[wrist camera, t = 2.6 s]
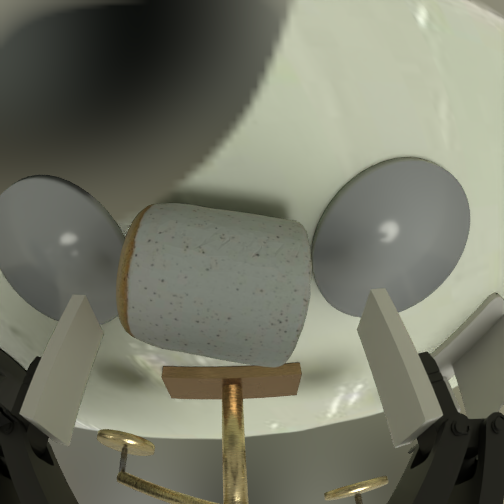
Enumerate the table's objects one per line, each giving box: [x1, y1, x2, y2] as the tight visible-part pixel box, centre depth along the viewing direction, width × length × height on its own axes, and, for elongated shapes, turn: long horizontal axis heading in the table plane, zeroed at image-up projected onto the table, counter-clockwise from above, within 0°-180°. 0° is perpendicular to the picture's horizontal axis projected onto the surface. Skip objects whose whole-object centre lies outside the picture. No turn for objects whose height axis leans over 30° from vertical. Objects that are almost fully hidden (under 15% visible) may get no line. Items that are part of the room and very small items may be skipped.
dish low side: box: [0, 175, 125, 325], centre depth 16 cm, size 12×12×1 cm
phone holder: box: [430, 293, 504, 419], centre depth 20 cm, size 17×10×18 cm, turn 151°
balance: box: [97, 363, 388, 504], centre depth 18 cm, size 23×5×16 cm, turn 90°
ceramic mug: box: [116, 203, 312, 367], centre depth 15 cm, size 10×8×7 cm
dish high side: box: [311, 157, 470, 317], centre depth 17 cm, size 12×12×1 cm
